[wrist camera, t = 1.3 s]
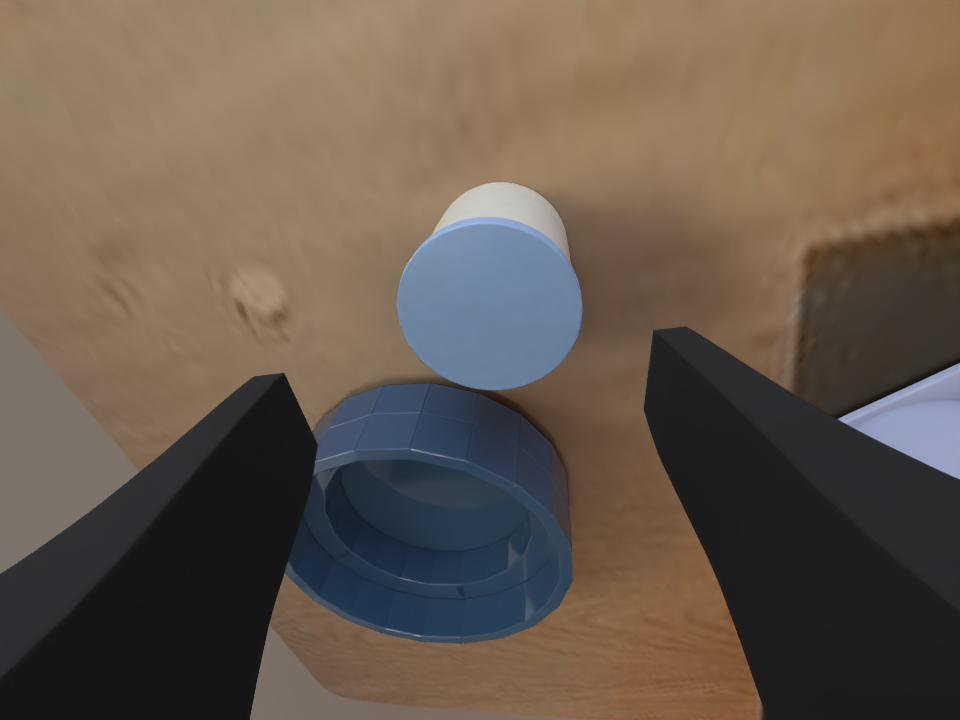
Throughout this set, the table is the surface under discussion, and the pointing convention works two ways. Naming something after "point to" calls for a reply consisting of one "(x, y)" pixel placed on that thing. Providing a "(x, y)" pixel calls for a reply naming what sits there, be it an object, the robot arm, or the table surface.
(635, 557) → the table surface
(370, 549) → the bowl
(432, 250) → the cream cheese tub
